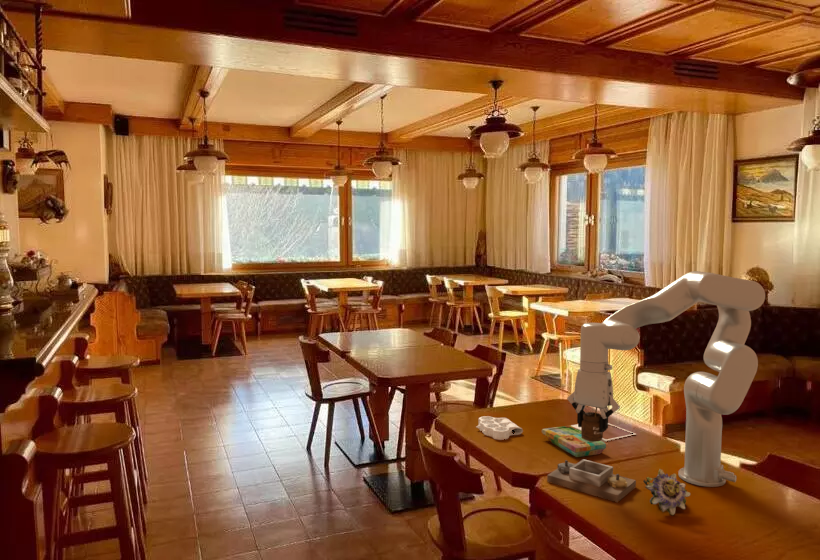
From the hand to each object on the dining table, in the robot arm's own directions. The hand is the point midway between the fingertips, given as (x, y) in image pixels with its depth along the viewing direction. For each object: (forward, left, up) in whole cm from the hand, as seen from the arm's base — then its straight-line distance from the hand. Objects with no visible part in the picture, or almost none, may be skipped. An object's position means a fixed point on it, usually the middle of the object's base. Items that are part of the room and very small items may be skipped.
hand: (592, 427), depth 176 cm
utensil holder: (0, 0, -3) cm, 3 cm away
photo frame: (+17, -47, -17) cm, 53 cm away
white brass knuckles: (+46, -22, -17) cm, 54 cm away
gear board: (0, 0, -17) cm, 17 cm away
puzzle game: (+18, -25, -17) cm, 35 cm away
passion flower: (-21, +1, -17) cm, 27 cm away
